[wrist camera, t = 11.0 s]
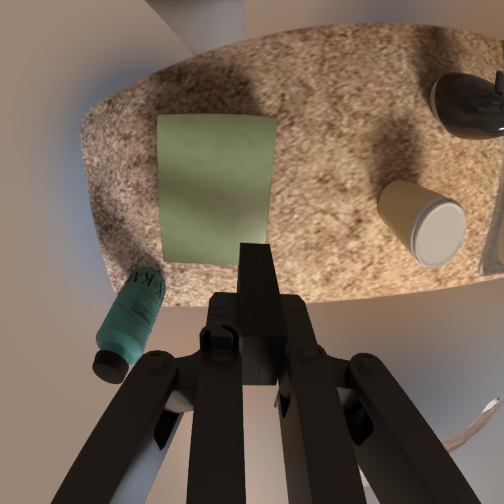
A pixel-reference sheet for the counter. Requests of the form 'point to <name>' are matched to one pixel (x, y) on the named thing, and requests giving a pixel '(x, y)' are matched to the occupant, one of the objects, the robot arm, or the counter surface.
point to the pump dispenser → (469, 105)
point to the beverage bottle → (128, 324)
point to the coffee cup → (423, 222)
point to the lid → (213, 184)
